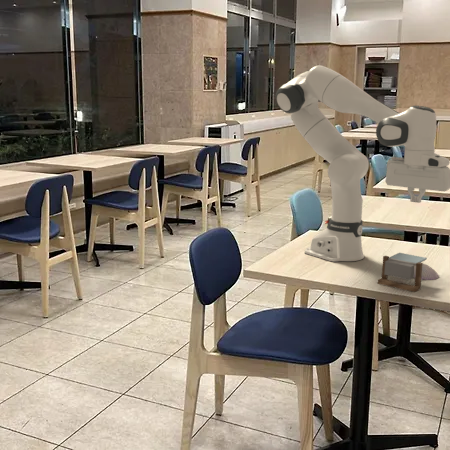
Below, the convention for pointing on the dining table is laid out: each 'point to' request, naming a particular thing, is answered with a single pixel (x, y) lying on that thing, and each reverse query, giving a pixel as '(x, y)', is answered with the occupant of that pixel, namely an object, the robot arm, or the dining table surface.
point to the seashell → (427, 273)
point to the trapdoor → (402, 265)
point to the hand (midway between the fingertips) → (415, 202)
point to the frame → (400, 285)
